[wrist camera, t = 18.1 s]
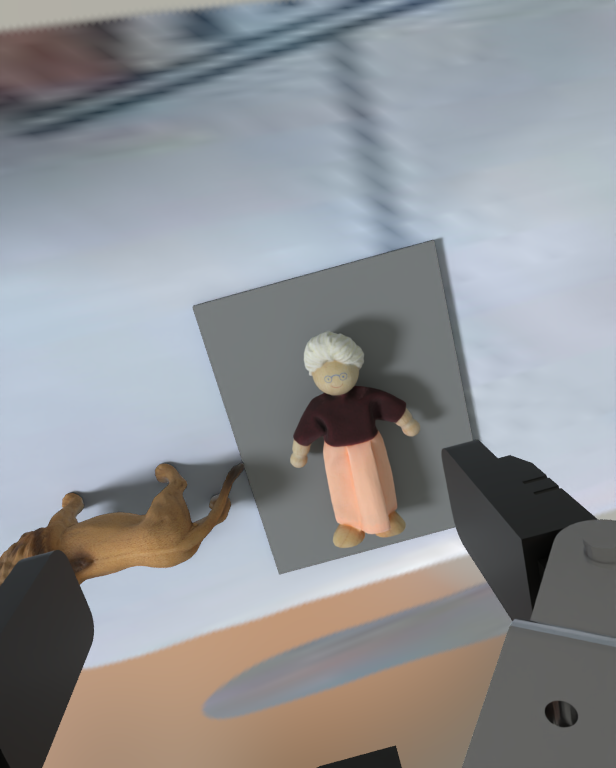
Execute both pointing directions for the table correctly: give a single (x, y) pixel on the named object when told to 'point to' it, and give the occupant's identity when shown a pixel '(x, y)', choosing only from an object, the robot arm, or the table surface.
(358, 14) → the table surface
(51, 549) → the lion figurine
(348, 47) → the table surface
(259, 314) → the mat
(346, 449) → the grandmother figurine
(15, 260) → the table surface
